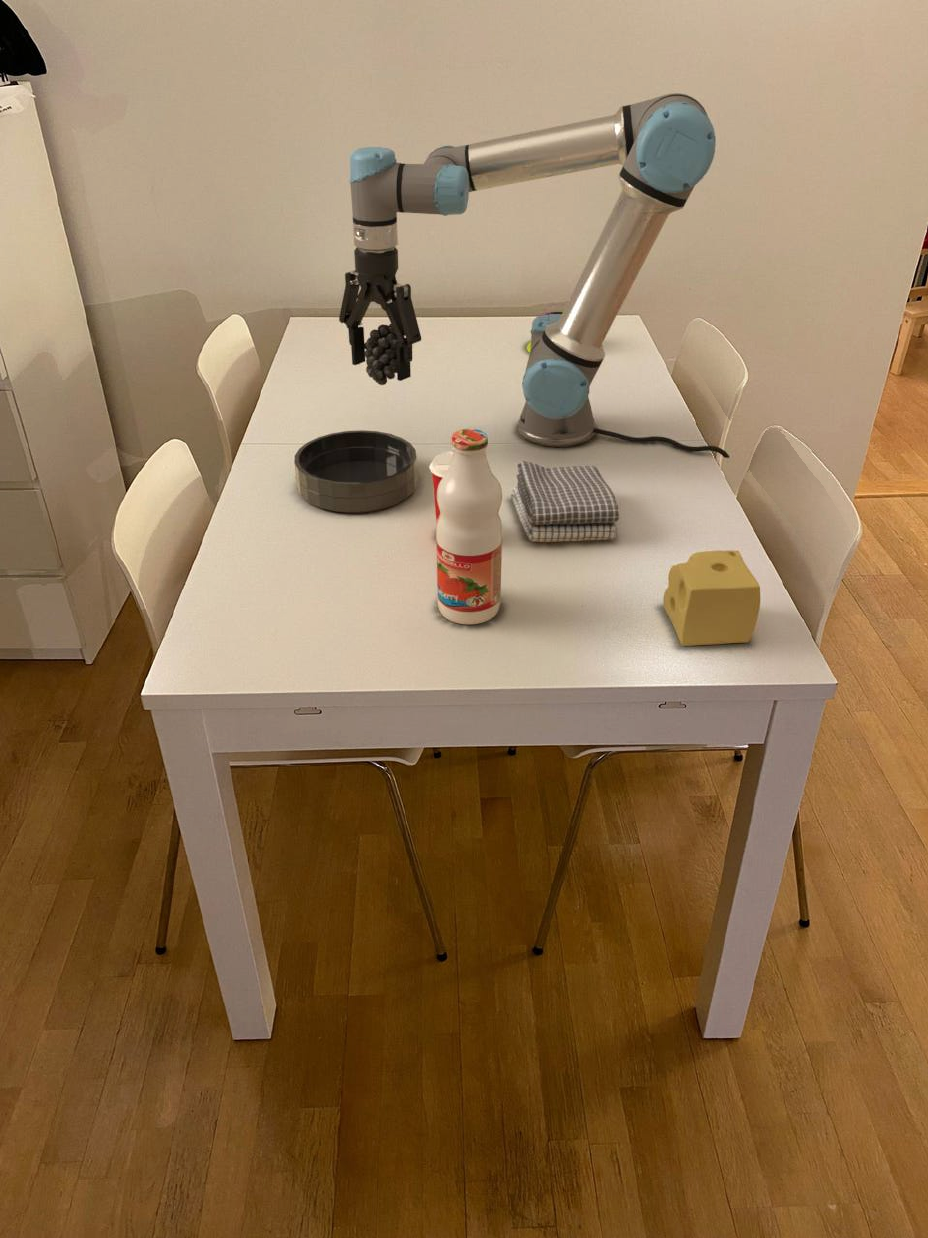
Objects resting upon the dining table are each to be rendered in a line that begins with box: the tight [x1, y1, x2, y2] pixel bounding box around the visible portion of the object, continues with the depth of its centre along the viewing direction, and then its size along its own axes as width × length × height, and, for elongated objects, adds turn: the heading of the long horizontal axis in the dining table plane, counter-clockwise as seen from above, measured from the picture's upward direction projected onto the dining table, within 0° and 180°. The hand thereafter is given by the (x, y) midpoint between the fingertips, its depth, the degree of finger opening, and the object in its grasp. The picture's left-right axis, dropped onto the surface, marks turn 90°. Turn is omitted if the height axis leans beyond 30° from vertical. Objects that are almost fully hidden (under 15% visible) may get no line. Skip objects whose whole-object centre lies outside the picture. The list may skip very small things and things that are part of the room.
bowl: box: [294, 429, 418, 514], centre depth 179 cm, size 22×22×6 cm
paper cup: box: [428, 450, 454, 524], centre depth 162 cm, size 8×8×14 cm
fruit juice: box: [435, 428, 503, 625], centre depth 141 cm, size 9×9×28 cm
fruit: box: [364, 323, 400, 386], centre depth 181 cm, size 9×8×15 cm
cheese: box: [662, 550, 761, 647], centre depth 142 cm, size 10×11×10 cm
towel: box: [510, 460, 620, 543], centre depth 168 cm, size 15×18×8 cm
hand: (381, 370), depth 183 cm, fingers closed on fruit, 11 cm apart
